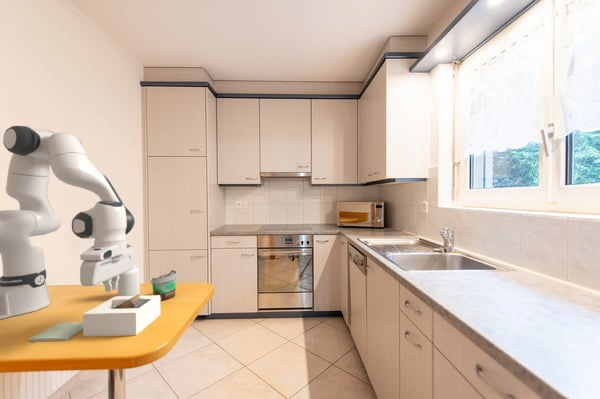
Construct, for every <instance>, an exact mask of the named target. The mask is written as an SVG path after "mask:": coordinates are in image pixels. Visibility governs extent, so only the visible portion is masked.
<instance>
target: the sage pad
mask: <svg viewBox="0 0 600 399" xmlns="http://www.w3.org/2000/svg"><path fill="white" fill-rule="evenodd" d="M81 332H83V321H67V322H66V321H64V322H58V323H57V324H55V325H53V326H51V327H49V328H47V329H45V330H44V331H41V332H39V333H38V334H36V335H33V336H32V337H30V338H28V339H29V342H54V341H55V342H57V341H58V342H59V341H61V342H62V341H65V342H66V341H68V340H70V339H71V338H73V337H75V336H76V335H78V334H79V333H81Z"/></svg>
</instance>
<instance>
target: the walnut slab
mask: <svg viewBox="0 0 600 399" xmlns="http://www.w3.org/2000/svg"><path fill="white" fill-rule="evenodd" d="M139 296H140V295H136V296H134V297H132V298H131V299H129V300H127V301H125V302H123V303H121V304H119V305H118V306H116V307H114V308H112V309H128V308H133V307H134V305H133V304H134V303H135V302H137V301H138V300H140V297H139Z"/></svg>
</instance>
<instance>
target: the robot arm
mask: <svg viewBox="0 0 600 399" xmlns="http://www.w3.org/2000/svg"><path fill="white" fill-rule="evenodd" d="M2 139H3V140H2V142H3V143H2V144H3V146H4V148H5V149H6V150H7V151H8V152H9V153H12V156H11V157H10V160H9V165H8V170H7V179H6V187H5V192H6V194H7V195H8V196H9V197H11V198H12V199H13V200H16V201H17V202H18V204H19V209H10V210H9V209H8V210H7V209H6V210H5V209H4V210H0V257H1V263H2V264H1V265H2V275H1V276H0V320H2V319H6V318H9V317H10V318H11V317H15V316H19V315H25V314H27V313H32V312H35V311H39V310H40V309H41V310H42V309H43V308H45V307H48V306H49V305H50V304H51V303H52V301H51V296H50V295H49V289H48V284H47V282H46V279H47V270H46V269H45V252H44V250H43V249H42V248H40V247H38V246H34V245H33V244H32V242H31V240H30V237H35V236H37V237H38V236H43V235H44V236H45V235H48V234H50V233H53V232H56V231H58V230H59V229H60V228H61V226H62V224H63V218H62V216H61V214H60V213H59V212H58V211H57V210H55V209H54V207H53V206H52V205H51V203H50V199H49V195H48V194H49V193H48V192H49V191H48V190H49V180H50V168H51V170H52V172H53V175H54V177H56V178H57V179H58V180H59V181H61V182H62V183H63V184H64V183H65V184H67V185H70V186H72V187H77V188H80V189H84V190H87V191H90V192H92V193H94V194H95V195H97V197H99V199H100V201H98V202H96V203H95V205H93V207H91V208H89V209H87V210H85V211H80V212H78V213H77V214H76V215H75V216H74V217H73V218H72V221H71V231H72V233H73V234H74V235H75V236H76V237H78V238H80V239H84V240H85V239H87V240H88V239H94V240H93V245H92V246H91V247H90V248H88V249H87V250H85V251H83V252H82V253H81V254H80V256H79V257H80V261H81V264H80V270H79V274H80V275H79V278H80V279H79V280H80V281H79V283H80V285H82V286H83V287H94V286H96V285H99V284H103V286H104V290H105V292H106V293H108V292H109V293H110V292H113V291H115V290H116V289H118V280H119V278H120V274H122V273H125V272H127V271H129V270H131V269H133V268H134V266H135V262H136V261H135V259H136V258H135V253H134V250H133V247H132V246H131V245H130V244H128V240H127V235H128V234H129V233H131V231H132V230H133V228H134V226H135V217H134V215H133V214H132V212H131V211H130V210H129V209H128V208H127V207H126V206H125V204H124V202H123V201H122V199H121V198H120V196H119V194H118V192H117V191H116V189H115V188H114V185H112V183H111V181H110V180H109V178H108V177H107V176H106V175H105V174H103V173H102V172H100V171H99V170H98V169H97V168H96V167H95V165H94V164H93V163H92V161H91V159H90V158H89V155H88V153H87V151H86V149H85V147H84V146H83V143H82V141H81V140H79V138H77V136H76V135H73V134H71V133H68V132H57V131H53V130H46V129H42V128H34V127H29V126H26V125H25V126H24V125H12V126H10V127H8V128H7V129H6V130H5V132H4V133H3V138H2Z"/></svg>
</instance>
